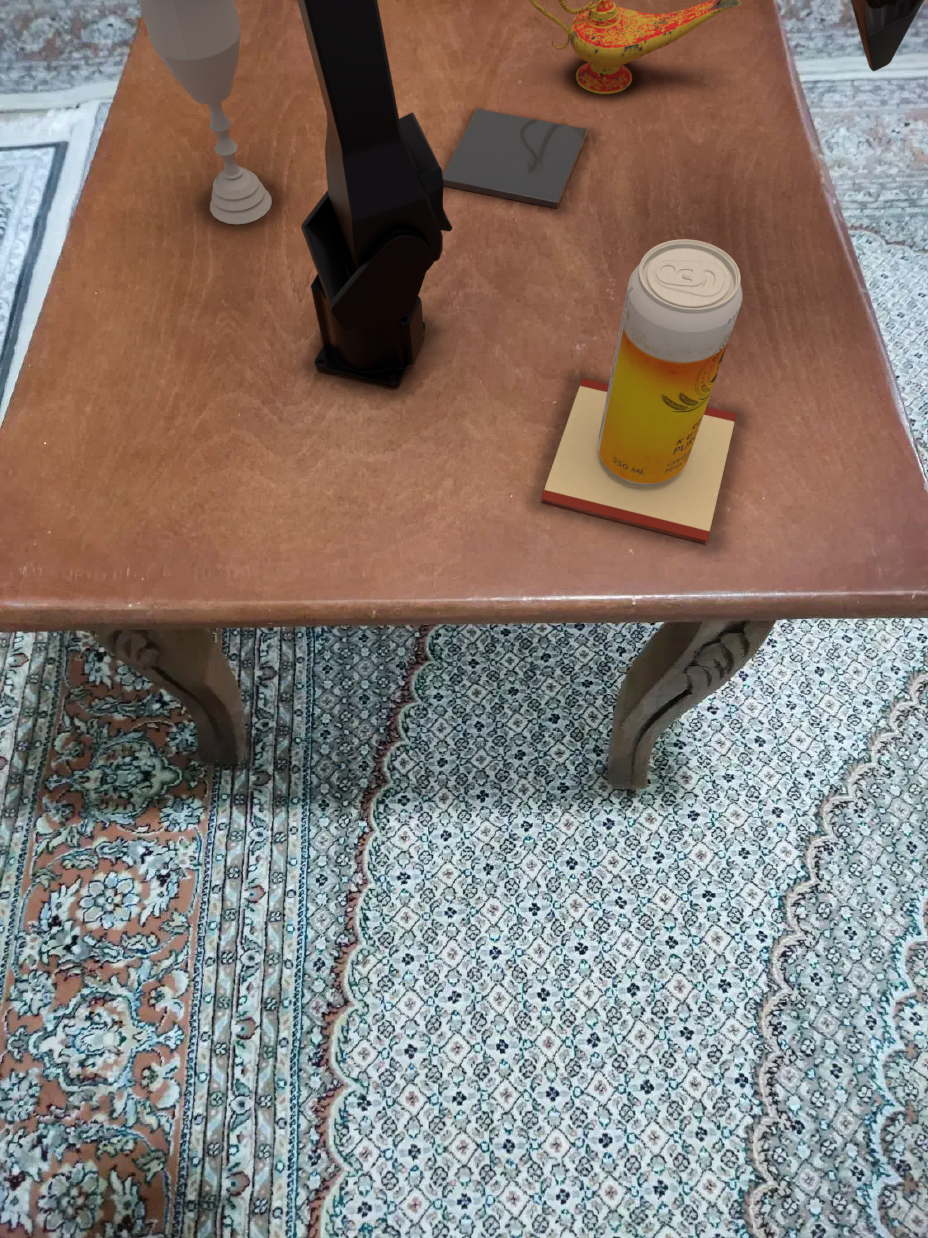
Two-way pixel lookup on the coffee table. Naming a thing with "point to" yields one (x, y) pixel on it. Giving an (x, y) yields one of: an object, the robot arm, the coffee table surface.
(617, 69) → the magic lamp
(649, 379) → the beer can
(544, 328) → the coffee table surface
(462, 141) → the coaster
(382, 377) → the robot arm
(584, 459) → the beige and red tile
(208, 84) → the chalice
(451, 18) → the coffee table surface
